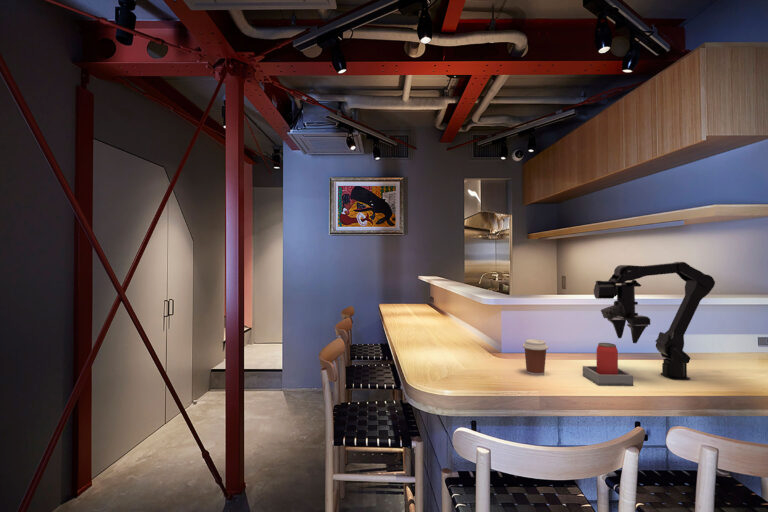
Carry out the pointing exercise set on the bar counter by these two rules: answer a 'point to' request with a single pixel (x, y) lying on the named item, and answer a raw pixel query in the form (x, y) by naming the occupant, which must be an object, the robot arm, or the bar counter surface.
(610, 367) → the beer can
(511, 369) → the bar counter surface
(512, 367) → the bar counter surface
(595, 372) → the tray
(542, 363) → the coffee cup
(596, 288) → the robot arm
